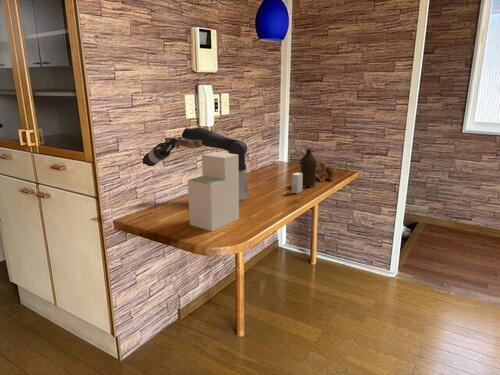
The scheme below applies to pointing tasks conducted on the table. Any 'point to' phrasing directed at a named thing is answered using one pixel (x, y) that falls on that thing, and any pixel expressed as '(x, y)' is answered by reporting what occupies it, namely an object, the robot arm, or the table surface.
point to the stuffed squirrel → (324, 171)
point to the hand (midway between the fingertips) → (178, 139)
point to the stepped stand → (215, 192)
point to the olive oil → (308, 169)
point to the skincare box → (297, 182)
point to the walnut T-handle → (186, 142)
